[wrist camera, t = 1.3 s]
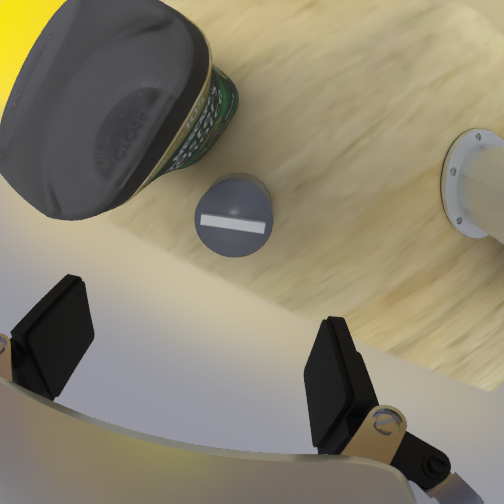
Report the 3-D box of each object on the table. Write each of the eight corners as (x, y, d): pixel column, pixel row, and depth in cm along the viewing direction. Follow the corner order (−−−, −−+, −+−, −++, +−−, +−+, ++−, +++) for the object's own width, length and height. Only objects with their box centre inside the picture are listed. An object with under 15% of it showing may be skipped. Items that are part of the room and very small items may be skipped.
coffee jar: (192, 179, 26) (75, 278, 9) (127, 134, 24) (-37, 169, 7) (256, 94, 22) (240, 11, 5) (185, 49, 20) (65, -45, 4)
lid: (275, 178, 25) (279, 190, 20) (265, 239, 28) (265, 265, 23) (209, 168, 25) (196, 179, 20) (203, 230, 28) (190, 254, 22)
